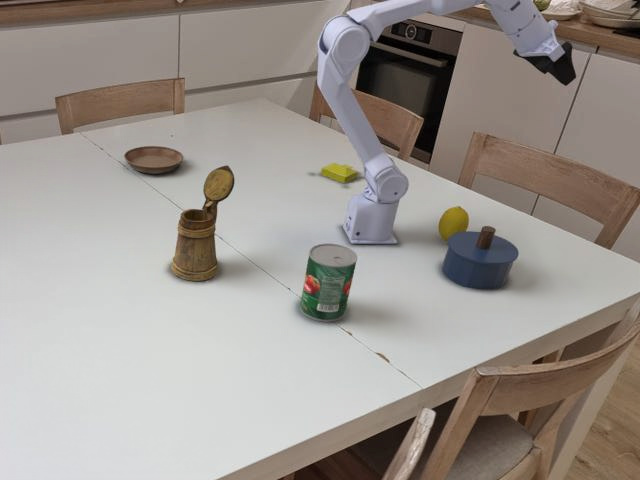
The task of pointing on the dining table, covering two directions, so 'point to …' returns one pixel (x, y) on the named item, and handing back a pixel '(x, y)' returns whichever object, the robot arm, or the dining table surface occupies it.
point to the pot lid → (483, 247)
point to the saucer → (153, 159)
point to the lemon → (453, 222)
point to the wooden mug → (201, 230)
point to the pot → (474, 272)
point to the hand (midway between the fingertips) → (559, 75)
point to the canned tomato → (327, 282)
